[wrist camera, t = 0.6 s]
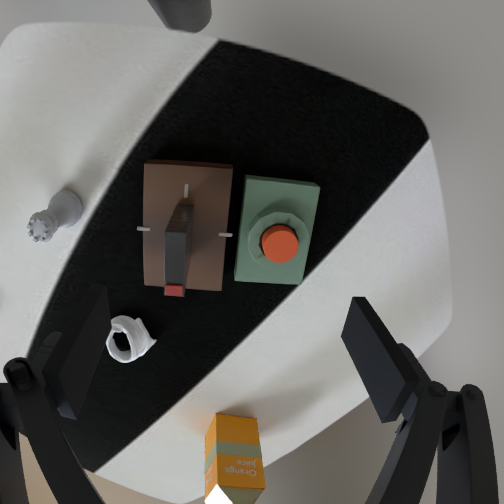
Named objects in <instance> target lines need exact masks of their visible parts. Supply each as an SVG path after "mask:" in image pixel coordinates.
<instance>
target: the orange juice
mask: <svg viewBox="0 0 504 504" xmlns="http://www.w3.org/2000/svg"><path fill="white" fill-rule="evenodd" d="M265 488H266V486H265V478H264V471H263V464H262V454H261V446H260V441H259V433H258V426H257V419H254V418H246V417H238V416H231V415H224V414H217V413H216V414H215V416H214V418H213V421H212V423H211V425H210V428H209V430H208V432H207V434H206V437H205V503H206V504H254V503H255V501H256V500H257V498H258V497H259V496H260V494H261V493H262V491H263V490H264V489H265Z"/></svg>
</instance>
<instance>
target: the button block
mask: <svg viewBox="0 0 504 504" xmlns="http://www.w3.org/2000/svg"><path fill="white" fill-rule="evenodd" d="M319 191H320V187H319V186H318V185H317V184H316V183H313V182H305V181H297V180H289V179H281V178H272V177H262V176H253V175H245V179H244V188H243V197H242V205H241V214H240V223H239V232H238V241H237V250H236V259H235V269H234V276H235V281H247V282H264V283H282V284H301V283H302V278H303V274H304V269H305V264H306V259H307V254H308V249H309V244H310V239H311V234H312V229H313V224H314V219H315V213H316V208H317V202H318V197H319ZM274 225H284V226H287V227H289V228H290V229H291V230H292V231H293V233H294V235H295V236H296V238H297V240H298V250H297V253H296V254H295V256H294V257H293V258H292V259H290V260H289V261H287V262H283V263H276V262H273V261H271V260H269V259H268V258H267V257H266V255H265V253H264V250H263V247H262V237H263V234H264V233H265V231H266V230H267V229H268V228H270V227H272V226H274Z"/></svg>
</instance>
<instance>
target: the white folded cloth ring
mask: <svg viewBox="0 0 504 504" xmlns="http://www.w3.org/2000/svg"><path fill="white" fill-rule="evenodd" d="M111 324H112V329H111V331H110V334H109V336H108V339H107V341H106V344H107V348H108V350H109V353H110V354H111V356H112V357H113V358H114V359H116V360H118V361H120V362H123V363H127V362H130V361H133V360H135V359H137V358H138V357H139V356H142V355H144V354H145V353H146V351H147V350H148V349H149V348H150V347H151V346H152V345H153V344H154V343H155V342H156V341H157V340H156V339H155V340H153V339H152V338H150V335H149V333H148V332H147V330H146V328H145V327H144V325H143V323H142V321H141V319H140V318H137V319H136V320H135V321H134V320H133V319H132V318H131V317H128V316H123V315H120V316H117V317H115V318H113V319H112V320H111ZM122 331H123V332H124V333H126V335H127V337H128V340H129V343H130V346H131V350H127V351H120V350H119V349H118V348H117V347H116V345H115V342H114V339H113V338H112V337H113V334H114V332H122Z"/></svg>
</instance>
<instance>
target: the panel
mask: <svg viewBox="0 0 504 504" xmlns="http://www.w3.org/2000/svg"><path fill="white" fill-rule="evenodd" d="M232 175H233V167H232V164H220V163H208V162H194V161H178V160H158V159H150V160H149V161H148V162H146V163H145V164H144V192H143V227H137V230H143V255H144V284H145V285H150V286H162V287H164V231H165V229H166V227H167V225H168V222H169V220H170V218H171V216H172V214H173V211H174V209H175V207H176V205H177V204H188V205H194V215H193V232H192V251H191V261H190V267H189V272H188V278H187V284H186V288H188V289H201V290H216V291H221V289H222V277H223V266H224V255H225V244H226V236H227V237H232V233H227V223H228V213H229V203H230V194H231V184H232Z"/></svg>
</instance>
